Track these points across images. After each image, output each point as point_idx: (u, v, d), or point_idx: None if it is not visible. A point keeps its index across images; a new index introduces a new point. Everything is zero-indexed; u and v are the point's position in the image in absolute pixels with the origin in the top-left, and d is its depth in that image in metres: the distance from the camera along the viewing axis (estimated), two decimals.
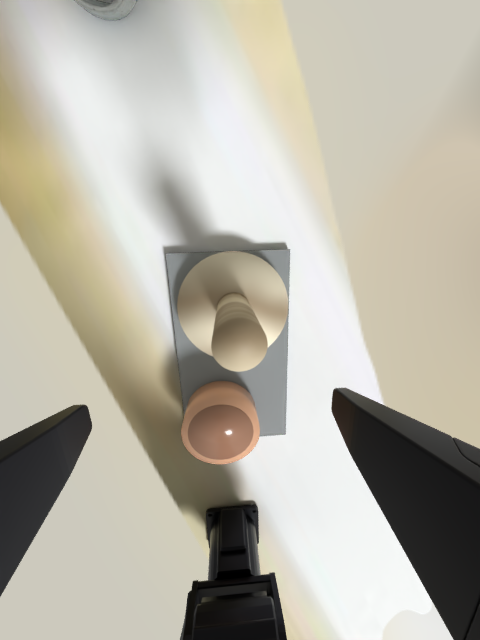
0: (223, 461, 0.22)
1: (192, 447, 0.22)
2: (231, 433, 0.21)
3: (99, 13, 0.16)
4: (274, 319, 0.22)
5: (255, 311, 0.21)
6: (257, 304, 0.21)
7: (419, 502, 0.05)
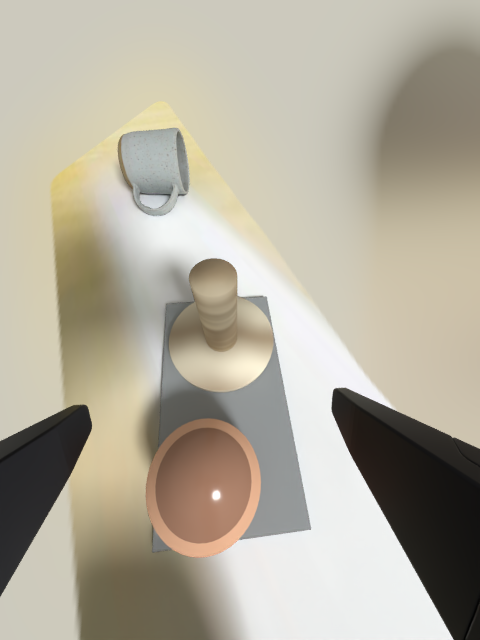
0: (206, 549, 0.13)
1: (159, 513, 0.14)
2: (219, 479, 0.15)
3: (152, 211, 0.32)
4: (261, 344, 0.22)
5: (242, 338, 0.22)
6: (243, 332, 0.23)
7: (419, 502, 0.05)
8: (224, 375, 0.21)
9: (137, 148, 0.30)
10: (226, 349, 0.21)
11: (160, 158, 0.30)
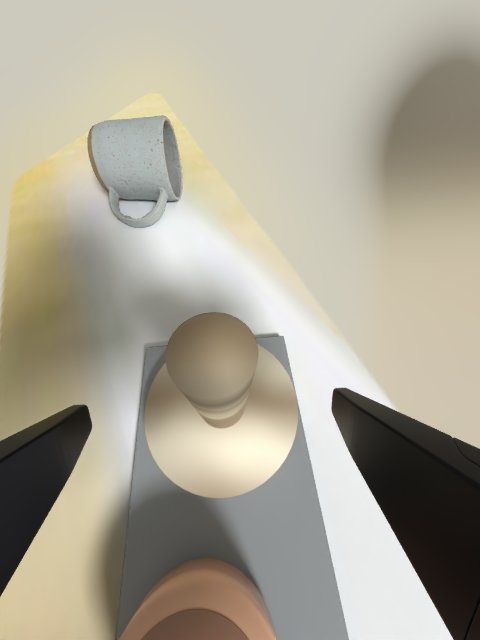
0: None
1: None
2: None
3: (133, 222, 0.25)
4: (281, 415, 0.15)
5: (252, 405, 0.15)
6: (253, 395, 0.16)
7: (419, 502, 0.05)
8: (227, 470, 0.14)
9: (112, 141, 0.23)
10: (230, 426, 0.14)
11: (142, 154, 0.23)
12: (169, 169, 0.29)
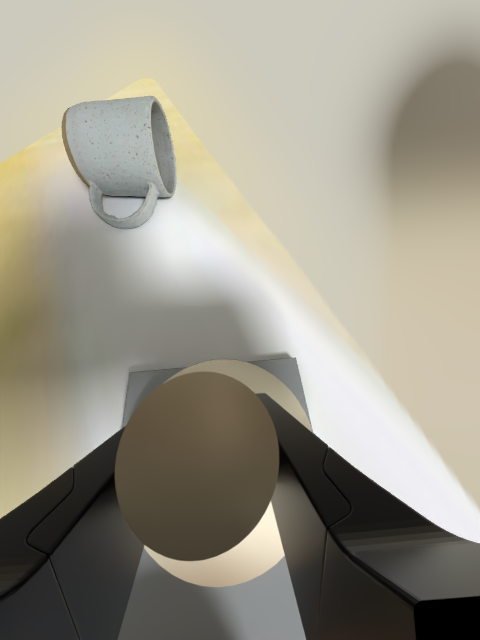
0: None
1: None
2: None
3: (118, 222, 0.21)
4: None
5: None
6: None
7: (289, 514, 0.05)
8: None
9: (90, 126, 0.19)
10: None
11: (126, 142, 0.19)
12: (161, 161, 0.26)
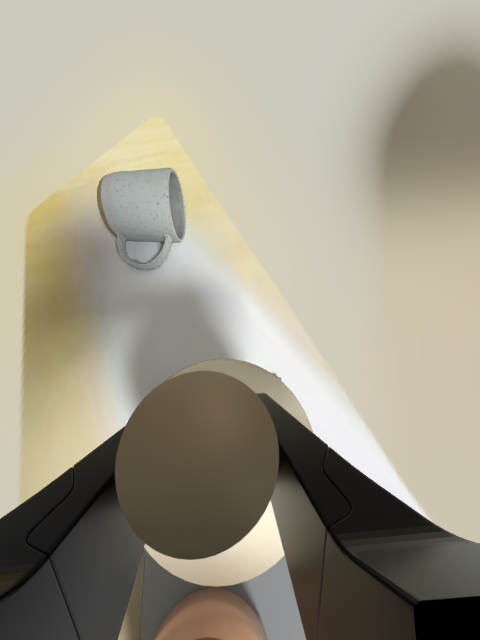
0: None
1: None
2: None
3: (140, 266, 0.27)
4: None
5: None
6: None
7: (289, 514, 0.05)
8: None
9: (120, 195, 0.24)
10: None
11: (149, 207, 0.24)
12: (173, 209, 0.31)
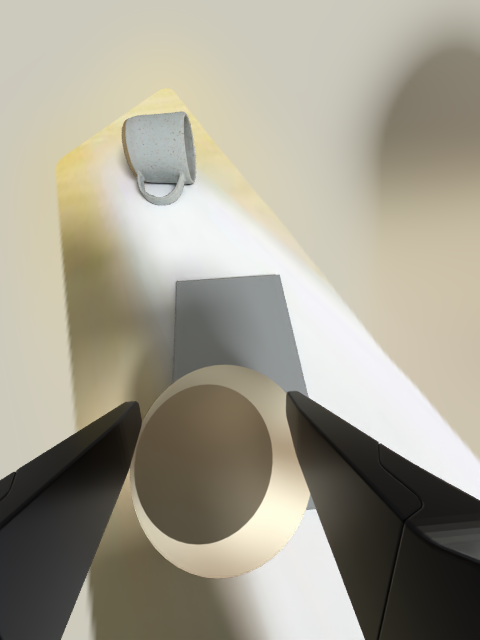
0: None
1: None
2: None
3: (158, 200, 0.30)
4: (293, 466, 0.13)
5: None
6: None
7: (342, 509, 0.05)
8: (230, 540, 0.11)
9: (142, 133, 0.28)
10: None
11: (167, 143, 0.28)
12: None
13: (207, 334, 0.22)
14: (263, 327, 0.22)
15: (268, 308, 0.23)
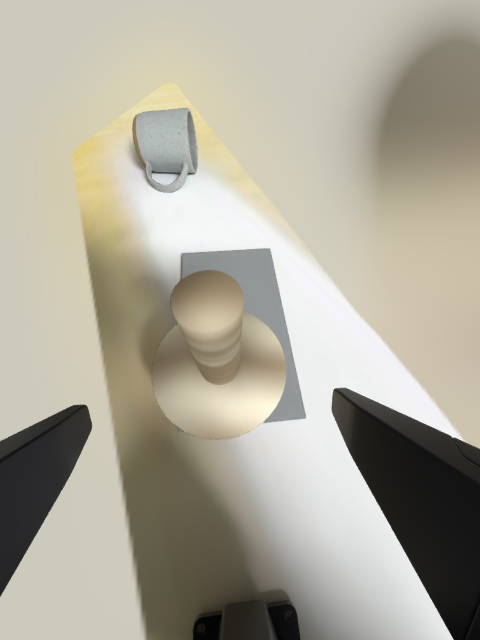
0: None
1: None
2: None
3: (164, 187, 0.34)
4: (271, 374, 0.17)
5: (246, 366, 0.17)
6: (247, 357, 0.18)
7: (419, 502, 0.05)
8: (224, 418, 0.16)
9: (151, 127, 0.32)
10: (226, 382, 0.17)
11: (172, 136, 0.32)
12: None
13: None
14: (255, 290, 0.26)
15: (259, 275, 0.28)
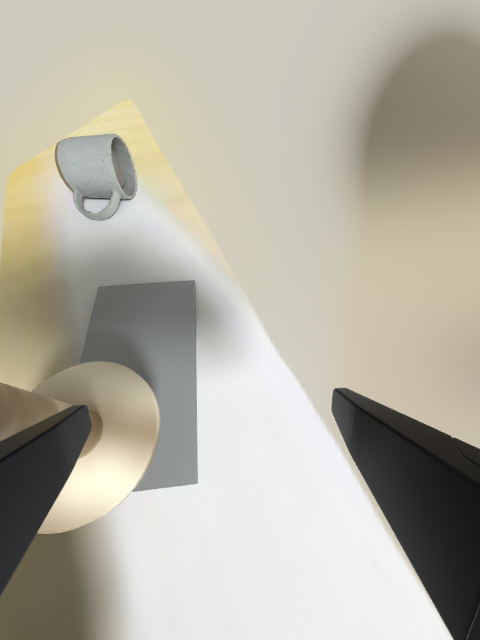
0: None
1: None
2: None
3: (92, 216, 0.32)
4: (136, 444, 0.15)
5: (109, 434, 0.15)
6: (113, 423, 0.16)
7: (419, 502, 0.05)
8: (67, 504, 0.14)
9: (72, 154, 0.30)
10: None
11: (96, 164, 0.30)
12: (126, 173, 0.37)
13: (116, 335, 0.24)
14: (169, 328, 0.25)
15: (177, 311, 0.26)
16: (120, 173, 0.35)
